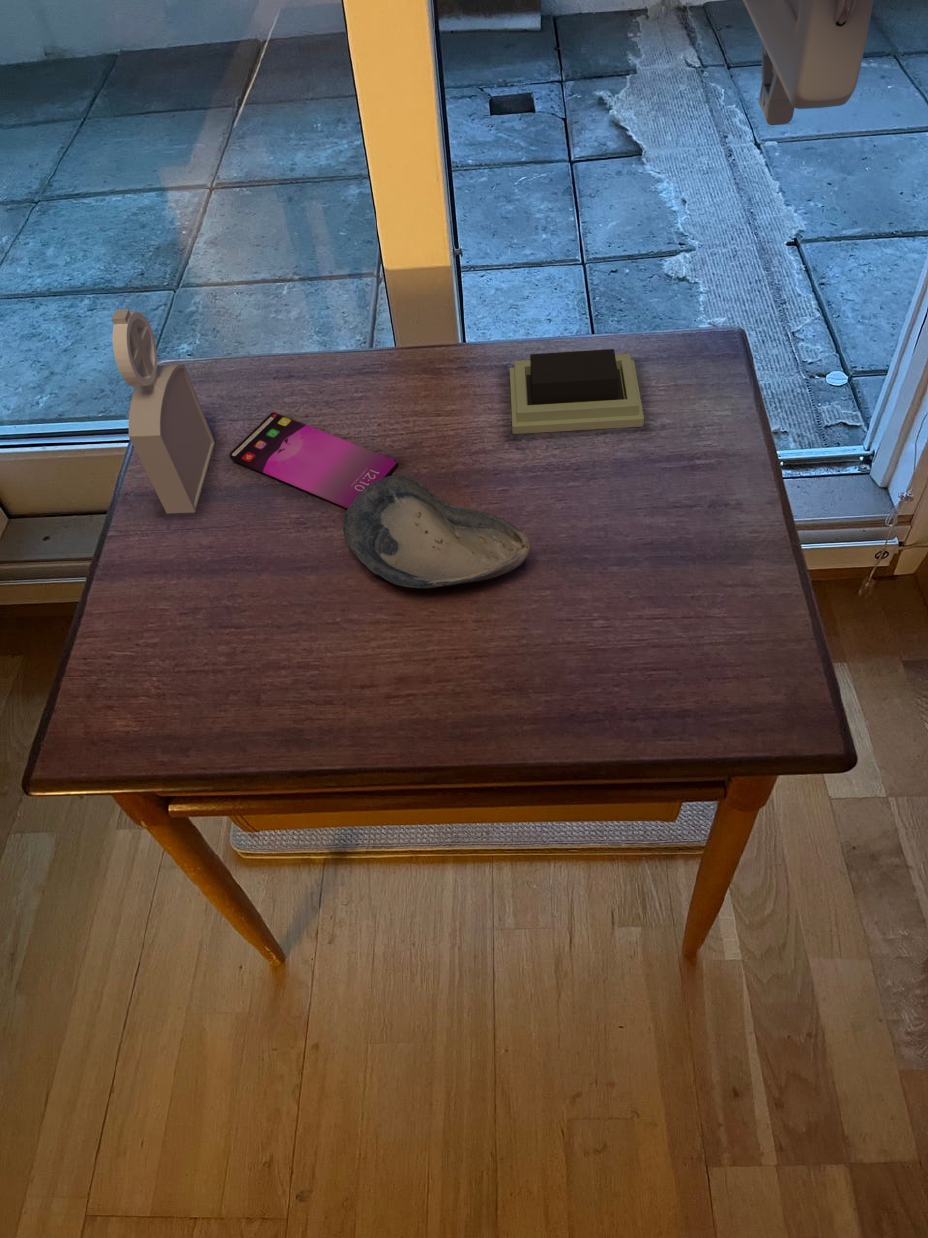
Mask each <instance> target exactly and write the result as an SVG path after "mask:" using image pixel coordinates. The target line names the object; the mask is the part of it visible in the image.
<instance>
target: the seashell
mask: <svg viewBox="0 0 928 1238" xmlns="http://www.w3.org/2000/svg"><path fill="white" fill-rule="evenodd" d="M343 519H344V521H343V530H342V531H343V537H344V540H345V541H346V543H347V545H348V546H349V548H350V549H351V551H352V553H353V555H354V556H355V557H356V558H357V559H358V560H359V561H360V562H361V563H362V564H363V565H364V566H365V567H366V568H367V569H368V570H369V571H370V572H371V573H372V574H374V575H376V576H378V577H379V576H380V577H382V578H383V579H384V580H386V581H387V582H389V583H391V584H394V585H396V586H400V587H405V588H412V589H433V588H439V587H444V586H455V585H460V584H468V583H475V582H480V581H485V580H489V579H492V578H497V577H500V576H502V575H505V574H507V573H509V572H511V571H513V570H515V569H516V568H518V567H520V566H521V565H522V564H523V563H524V562H525V560H526V559H527V557H528V556H529V554H530V551H531V547H532V546H531V545H532V544H531V540H530V538H529V537H530V536H528V535H527V534H526V533H525V532H524V531H523V530H522V529H520V528H519V527H517V526H516V525H514V524H513V523H511V522H509V521H508V520H506V519H503V518H501V517H498V516H496V515H494V514H491V513H488V512H484V511H479V510H475V509H469V508H465V507H459V506H455V505H452V504H450V503H447V502H444V501H443V499H441V498H439V497H438V496H436V494H434V493H433V492H431V491H430V490H429V489H428V487H426V486H425V485H423V484H422V482H420V481H418V480H416V479H415V478H413V477H411V476H408V475H396V474H395V475H388V476H387V477H384V478H381V479H379V480H377V481H375V482H373V483H371V484H370V485H369V486H367V487H366V488H365V489H364V490H362V491H361V493H360V494H359V495H357V496H356V498H355V499H354V500H353V501H352V503H351V505H350V506H349V507H348V509H346V513H345V515H344V518H343Z"/></svg>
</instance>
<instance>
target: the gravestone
mask: <svg viewBox="0 0 928 1238" xmlns="http://www.w3.org/2000/svg"><path fill="white" fill-rule="evenodd" d="M111 321H112V323H113V327H112V348H113V354H114V361H115V363H116V366H117V369H118V371H119V374H120V375H121V377H122V379H123V380H124V381H125V383H126V384H127V385H128V386H131V387H134V389H133V393H132V397H131V400H130V404H129V405H130V406H129V411H128V413H129V414H128V438H129V441H130V442H131V444H132V446H133V448H134V451H135V452H136V454H137V457H138V458H139V460H140V462H141V464H142V467H143V468H144V470H145V472H146V475H147V477H148V479H149V481H150V483H151V485H152V487H153V489H154V491H155V493H156V495H157V498H158V500H159V501H160V503H161V505H162V507H163V509H164V512H165V513H166V514H167V515H168V514H194V513H195V514H196V512H197V509H198V503H199V501H200V498H201V494H202V491H203V487H204V484H205V480H206V476H207V474H208V469H209V466H210V462H211V459H212V455H213V452H214V450H215V449H214V448H215V446H216V441H215V439H214V436H213V433H212V430H211V428H210V426H209V423H208V421H207V418H206V416H205V413H204V410H203V408H202V405H201V404H200V400H199V398H198V396H197V393H196V390H195V387H194V385H193V383H192V380H191V378H190V376H189V373H188V370H187V368H186V365H185V364H183V363H182V364H181V363H180V364H164V365H163V364H162V365H161V364H160V365H158V351H157V350H158V349H157V344H156V339H155V335H154V332H153V330H152V327H151V324H150V322H149V321H148V319H147V318H146V316H144V314H143V313H142V312H140V311H131V310H129V308H127V309H115V310H114V312H113V315H112V317H111Z"/></svg>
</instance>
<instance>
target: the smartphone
mask: <svg viewBox="0 0 928 1238" xmlns="http://www.w3.org/2000/svg"><path fill="white" fill-rule="evenodd" d="M228 456H229V459H230V460H232V461H234V462H236V463H239V464H241V465H243V466H244V467H247V468H250V469H252V470H255V471H257V472H260V473H262V474H265V475H267V476H269V477H271V478H273V479H276V480H278V481H280V482H284V483H285V484H288V485H290V486H293V487H295V488H297V489H300V490H302V491H305V492H307V493H309V494H312V495H313V496H316V497H318V498H321V499H323V500H325V501H328V502H330V503H333V504H335V505H337V506H339V507H342V508H344V509H346V510H348V507H349V506H350V505H351V503H352V501H353V500H354V499H355V498H356V496H357V495H359V494H360V493H361V491H362V490H364V489H365V488H366V487H367V486H369V485H370V484H371V483H373V482H375V481H377V480H379V479H381V478H384V477H388V476H390V474H391V473H392V472H393V471H394V470H395V469H396V467H397V466H398V464H399V461H398V460H397V459H394V458H392V457H390V456H387V455H385V454H382V453H380V452H377V451H375V450H372V449H369V448H367V447H364V446H361V445H359V444H357V443H354V442H351V441H349V440H347V439H344V438H341V437H339V436H337V435H334V434H331V433H329V432H326V431H324V430H321V429H318V428H315V427H314V426H311V425H308V424H306V423H303V422H301V421H298V420H296V419H293V418H290V417H288V416H285V415H283V414H281V413H278V412H274V411H273V412H270V414H269V415H268V416H266V418H264V420H262V422H260V424H258V425H257V426H256V427H255V428H254V429H253V430H252V431H251V432H250V433H249V434H248V435H247V436H246V437H245V438H243V440H241V442H240V443H238V444H237V445H236V446H235V447H234V448H233V449H232V450H231V451H230V452H229V455H228Z"/></svg>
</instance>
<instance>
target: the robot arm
mask: <svg viewBox="0 0 928 1238" xmlns="http://www.w3.org/2000/svg"><path fill="white" fill-rule="evenodd" d="M742 2H743V4H744V6H745V8H746V10H747V12H748V15H749V16H750V19H751V21H752V23H753V26H754V27H755V30H756V32H757V34H758V37H759V38H760V41H761V43H762V44H761V85H760V91H759V98H758V105H759V106H760V108H761V110H762V113H763V116H764V119H765V121H766V123H767V124H768V125H769V126H783V125H787V124H790V122H791V121H792V119H793V117H794V113H795V109H797V110H808V109H809V110H810V109H823V108H824V109H825V108H832V107H841V106H843V105H845V104H847V102H848V101H849V100H850V98H851V97H852V95H853V94H854V92H855V91H856V87H857V85H858V81H859V76H860V72H861V69H862V62H863V58H864V54H865V49H866V43H867V37H868V33H869V28H870V22H871V17H872V12H873V6H874V0H742Z"/></svg>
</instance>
